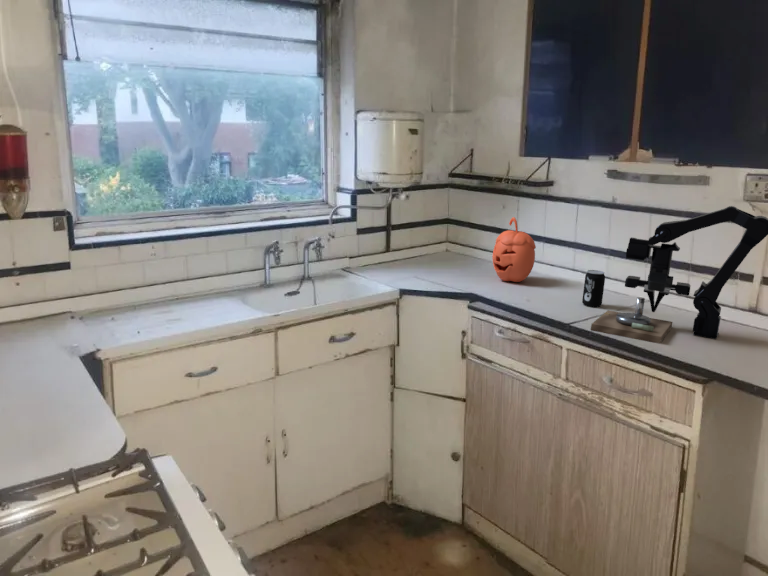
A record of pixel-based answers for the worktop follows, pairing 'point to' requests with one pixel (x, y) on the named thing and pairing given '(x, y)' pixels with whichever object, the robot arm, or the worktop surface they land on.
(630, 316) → the silver curved piece
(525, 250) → the jack-o'-lantern
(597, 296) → the beverage can
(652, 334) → the base plate
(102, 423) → the worktop surface
